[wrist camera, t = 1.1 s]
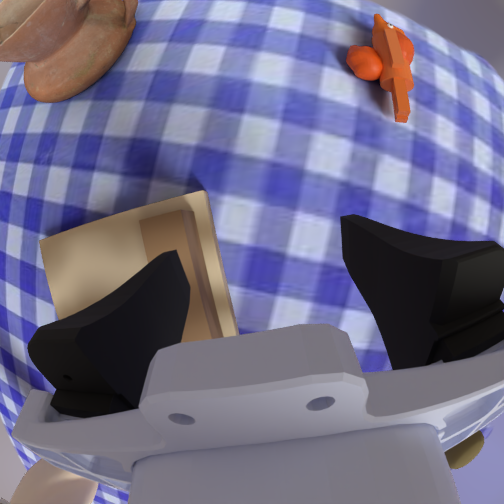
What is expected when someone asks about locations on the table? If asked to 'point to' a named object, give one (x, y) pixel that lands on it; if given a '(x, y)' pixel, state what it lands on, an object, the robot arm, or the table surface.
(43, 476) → the water bottle
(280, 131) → the table surface
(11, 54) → the ceramic jug
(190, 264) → the folding leg
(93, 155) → the table surface
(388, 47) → the orange blocky toy
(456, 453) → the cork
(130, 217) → the board
